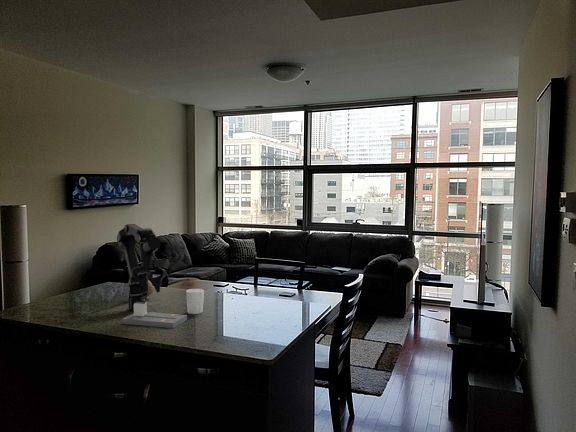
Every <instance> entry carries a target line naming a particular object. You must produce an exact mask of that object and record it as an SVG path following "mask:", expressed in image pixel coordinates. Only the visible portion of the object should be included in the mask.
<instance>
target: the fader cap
mask: <svg viewBox="0 0 576 432" xmlns="http://www.w3.org/2000/svg"><path fill="white" fill-rule="evenodd" d="M147 307H148V302H146V301H145V302H135V304H134V311H133V314H134V316H144V315H146V314H147V312H148V308H147Z"/></svg>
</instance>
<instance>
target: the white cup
mask: <svg viewBox="0 0 576 432" xmlns="http://www.w3.org/2000/svg"><path fill="white" fill-rule="evenodd" d="M185 292H186V295H185V296H186V306H187V308H186V309H187V314H190V315H200V314H202V313H203V311H204V310H203V309H204V302H205V301H204V299H205V297H204V295H205V290H204V289H203V288H191V289H190V288H189V289H187V290H186V291H185Z"/></svg>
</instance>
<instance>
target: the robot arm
mask: <svg viewBox="0 0 576 432" xmlns="http://www.w3.org/2000/svg"><path fill="white" fill-rule="evenodd" d="M116 235H117V236H116V241H117V243H118V247H119V248H120V249H121V250H123V252H124V253H123V254H124V256H125V261H126V265H127V266H126V267H127V270H128V275H129V279H128V282H127V286H126V289H125V292H124V294H125V297H126V298H127V299H128V308H126V311H131V312H134V304H135V302H145V303H146V298H145V299H144V296H147V293H148V280H149V276H150V277H151V278H150V282H151V283H152V285H153V287H154V290H155V291H156V293H160V291H161V285H162V281H163V279H164V278H165V277H166V276H167V275H168V272H167V270H168V268H169V266H171V264H170V261H169V259H166V258H162V259H163V260H162V259H158V257H156V256H155V252H156V251H158V249H159V248H160V247H161V246H162V241H161V240H160V238H158V236H157V235H156V233H155V232H154V230H153V229H152V228H151V227H149V228H148V227H147V228H142V227H141V226H138V225H137V224H135V223H130V224H125V225H124V227H123V228H122V229H120V230H118V233H117V234H116ZM136 243H140V245H139V246H138V250H139V255H140V259H137V256H136V255H137V254H136V250H135V246H136ZM138 262H139V263H141V265H139V264H138ZM166 269H167V270H166Z"/></svg>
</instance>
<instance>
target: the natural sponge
mask: <svg viewBox="0 0 576 432" xmlns="http://www.w3.org/2000/svg"><path fill="white" fill-rule="evenodd" d="M154 291H155V287H154V285H153V283H152V281H151V280H149V279H148V293H147V296H144V299H145V300H146V298H148V297H149V296H151V295H152V294H153V293H154Z"/></svg>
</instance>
